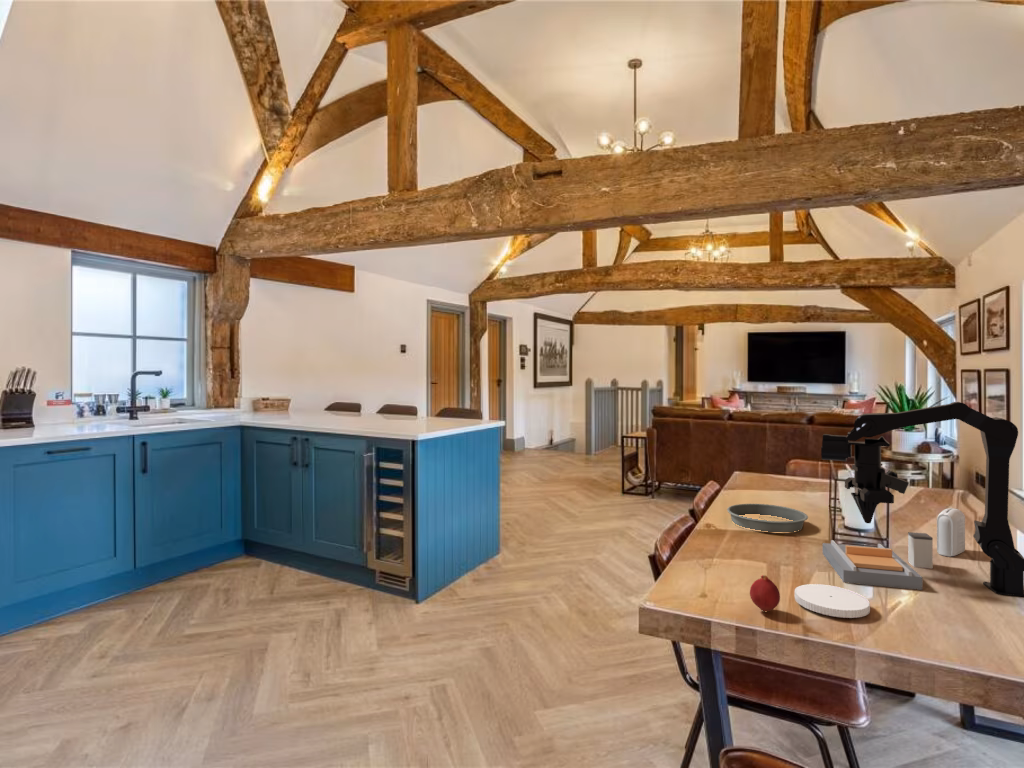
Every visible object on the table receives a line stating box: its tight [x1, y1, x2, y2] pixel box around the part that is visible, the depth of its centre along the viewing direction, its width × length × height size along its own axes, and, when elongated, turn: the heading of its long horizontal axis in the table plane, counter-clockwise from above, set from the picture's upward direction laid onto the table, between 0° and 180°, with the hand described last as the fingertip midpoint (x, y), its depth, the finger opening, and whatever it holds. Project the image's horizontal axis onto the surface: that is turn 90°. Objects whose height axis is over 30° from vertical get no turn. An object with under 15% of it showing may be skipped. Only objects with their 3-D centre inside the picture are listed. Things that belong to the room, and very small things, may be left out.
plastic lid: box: [794, 583, 871, 619], centre depth 116 cm, size 14×14×2 cm
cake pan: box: [726, 503, 809, 533], centre depth 180 cm, size 25×25×4 cm
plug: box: [907, 532, 934, 570], centre depth 140 cm, size 4×4×8 cm
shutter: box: [845, 544, 903, 571], centre depth 133 cm, size 8×10×3 cm
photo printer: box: [936, 507, 966, 558], centre depth 150 cm, size 10×4×12 cm, turn 123°
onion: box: [749, 574, 781, 612], centre depth 114 cm, size 6×6×8 cm
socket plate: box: [822, 539, 923, 591], centre depth 137 cm, size 22×16×4 cm
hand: (867, 522), depth 138 cm, fingers closed
